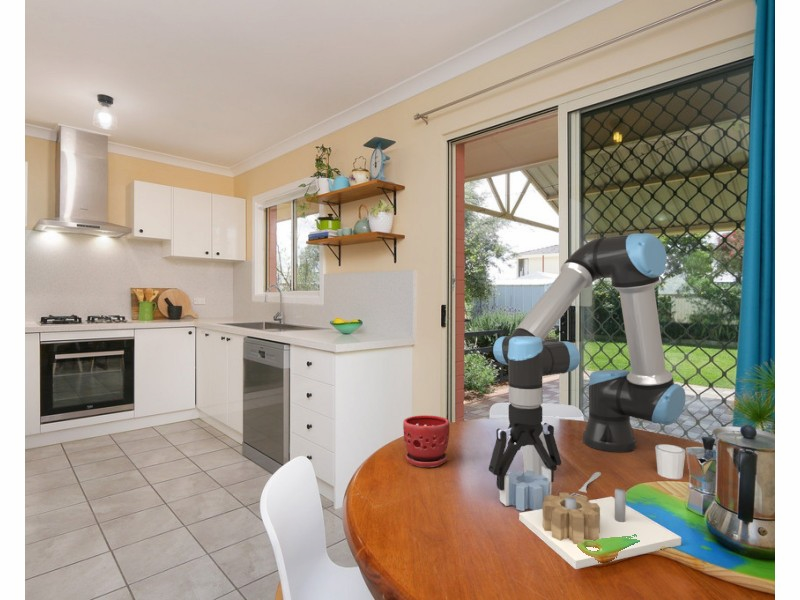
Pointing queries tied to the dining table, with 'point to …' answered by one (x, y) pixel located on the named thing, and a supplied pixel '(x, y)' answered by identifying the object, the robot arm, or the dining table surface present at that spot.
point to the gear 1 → (527, 490)
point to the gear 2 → (571, 518)
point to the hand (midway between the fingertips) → (525, 499)
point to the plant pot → (426, 440)
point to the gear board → (606, 530)
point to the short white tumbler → (670, 461)
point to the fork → (587, 483)
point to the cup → (533, 457)
